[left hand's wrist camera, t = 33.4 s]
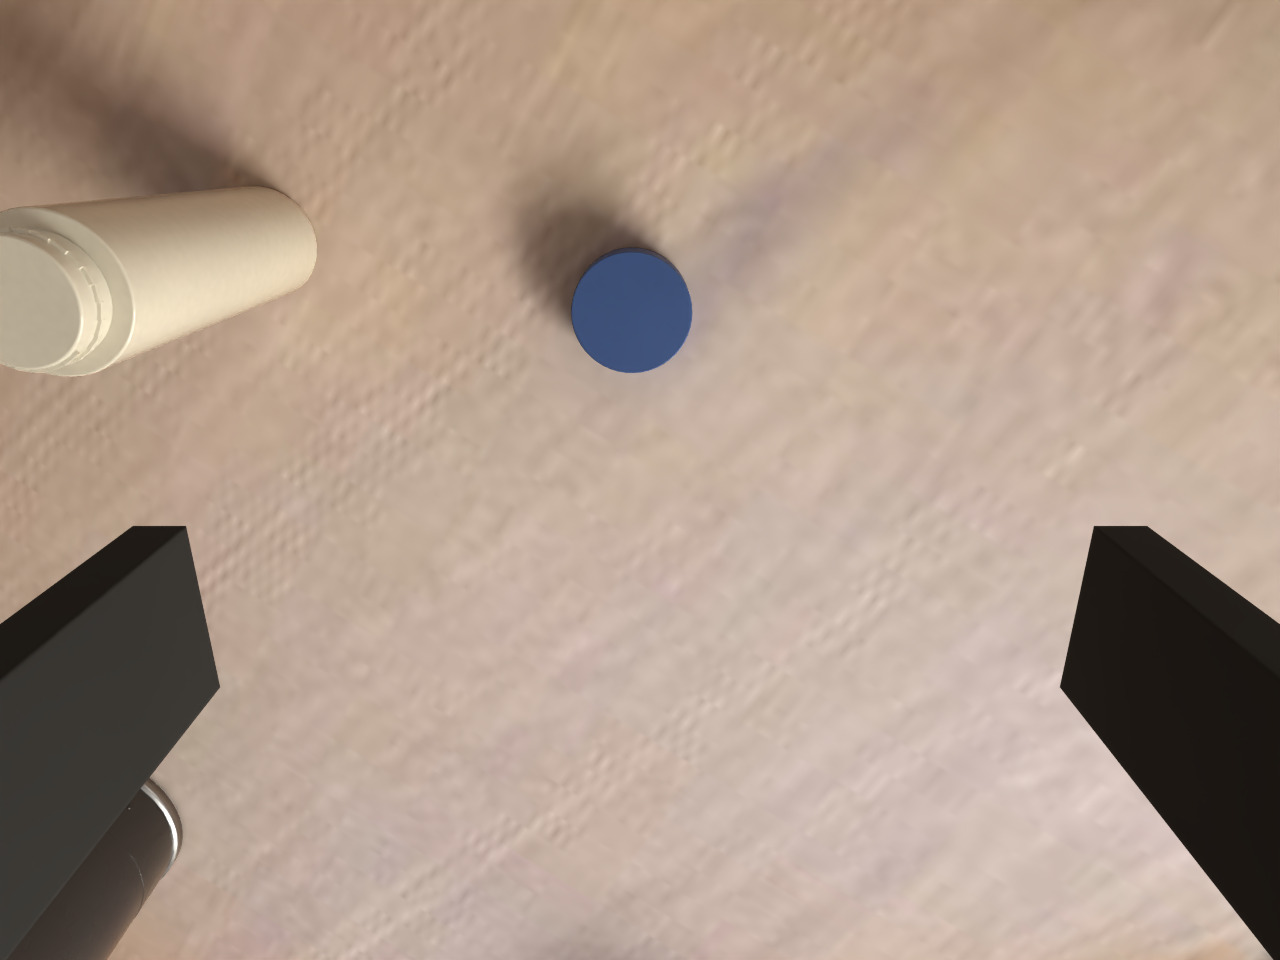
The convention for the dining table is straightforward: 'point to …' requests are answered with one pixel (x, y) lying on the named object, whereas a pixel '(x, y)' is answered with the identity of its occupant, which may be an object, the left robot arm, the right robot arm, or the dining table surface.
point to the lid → (631, 310)
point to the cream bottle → (141, 272)
